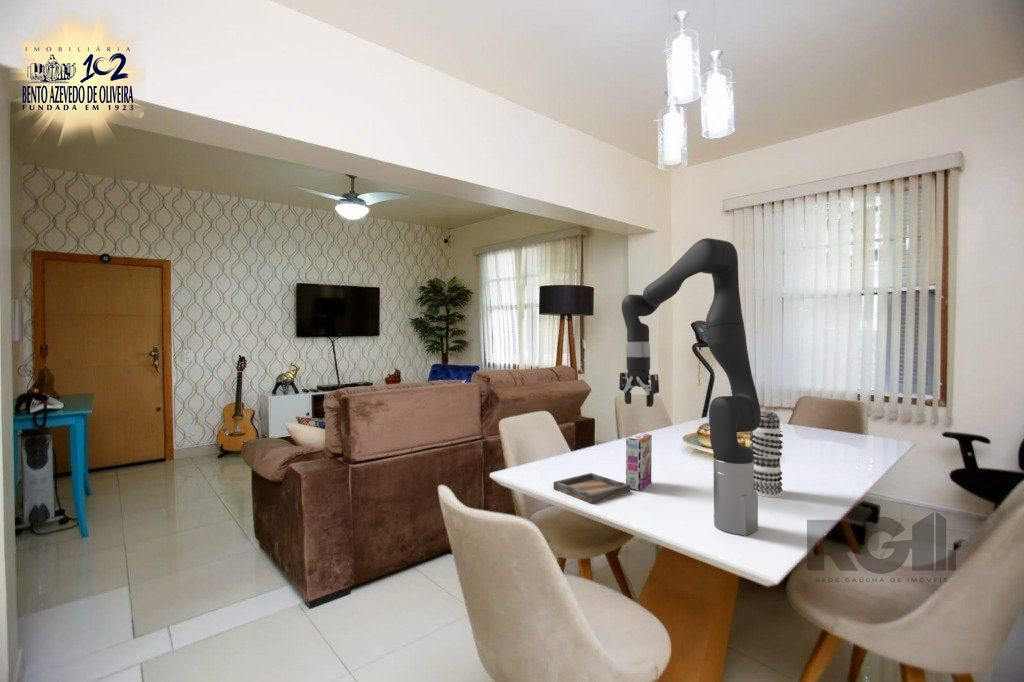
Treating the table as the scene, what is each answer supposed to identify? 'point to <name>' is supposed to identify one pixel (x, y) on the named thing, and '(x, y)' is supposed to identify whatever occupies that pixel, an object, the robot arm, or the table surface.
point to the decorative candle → (767, 455)
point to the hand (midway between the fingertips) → (638, 405)
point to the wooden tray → (591, 487)
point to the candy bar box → (638, 461)
